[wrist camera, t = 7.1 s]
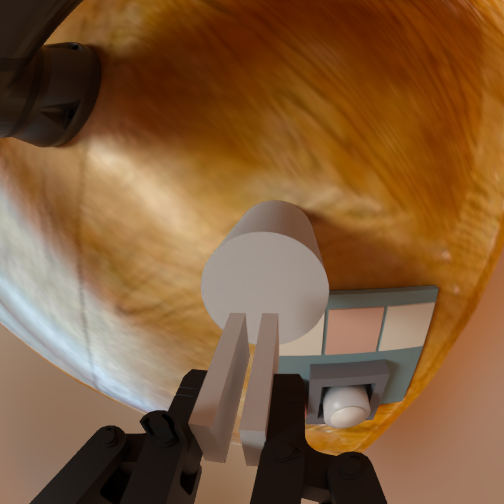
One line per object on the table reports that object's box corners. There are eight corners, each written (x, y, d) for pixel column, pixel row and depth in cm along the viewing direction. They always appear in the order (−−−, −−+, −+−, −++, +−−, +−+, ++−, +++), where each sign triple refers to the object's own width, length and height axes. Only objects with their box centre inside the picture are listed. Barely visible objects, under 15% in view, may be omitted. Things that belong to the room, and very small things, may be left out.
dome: (320, 407, 33) (321, 432, 29) (324, 380, 31) (327, 406, 27) (361, 405, 32) (365, 428, 28) (369, 377, 30) (375, 401, 26)
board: (269, 405, 37) (267, 424, 33) (263, 291, 30) (259, 309, 27) (400, 396, 34) (406, 413, 30) (435, 285, 27) (449, 299, 24)
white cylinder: (220, 230, 29) (176, 278, 17) (283, 184, 26) (278, 203, 15) (266, 288, 30) (252, 361, 19) (329, 248, 28) (351, 308, 16)
